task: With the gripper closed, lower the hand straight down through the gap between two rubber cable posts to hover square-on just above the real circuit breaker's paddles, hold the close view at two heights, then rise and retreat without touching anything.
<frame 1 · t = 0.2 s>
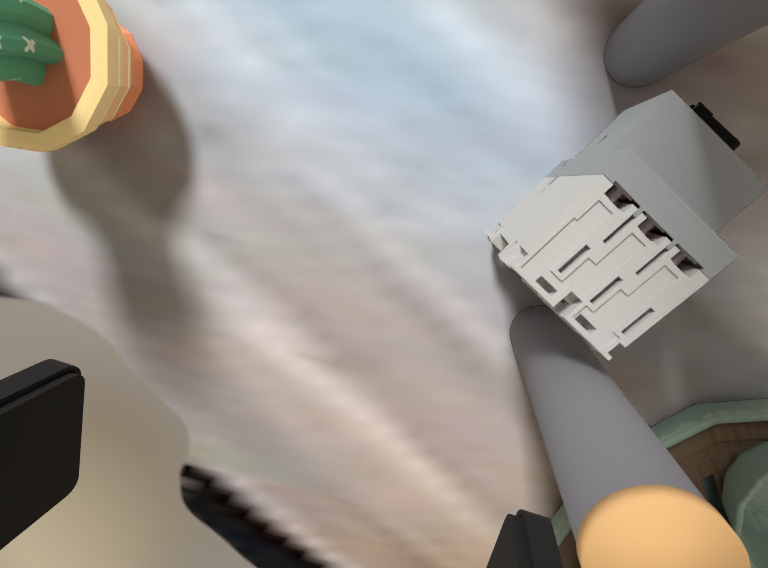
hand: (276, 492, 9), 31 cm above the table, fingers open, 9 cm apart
potted cactus: (100, 69, 41), on the table
post 1: (539, 332, 39), on the table
circuit breaker: (584, 203, 37), on the table
post 2: (639, 51, 34), on the table
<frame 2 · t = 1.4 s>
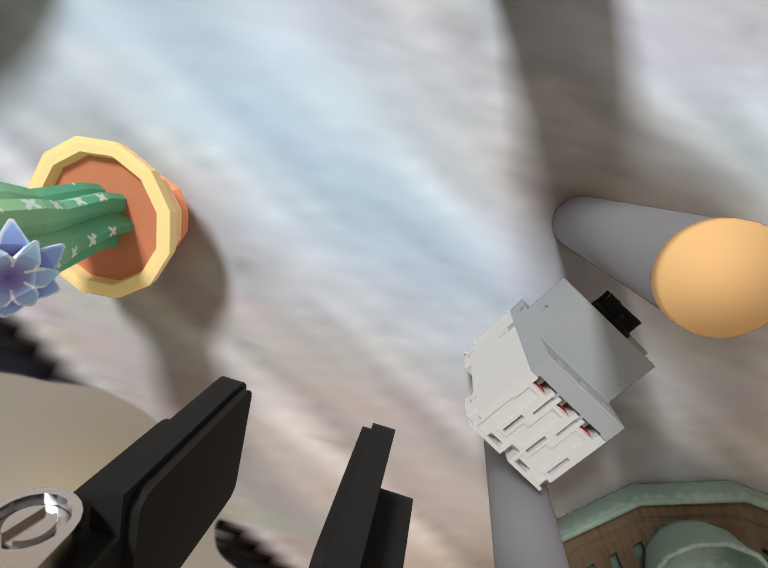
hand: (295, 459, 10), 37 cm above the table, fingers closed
potted cactus: (153, 213, 51), on the table
post 1: (506, 426, 49), on the table
circuit breaker: (539, 330, 47), on the table
post 2: (579, 222, 43), on the table
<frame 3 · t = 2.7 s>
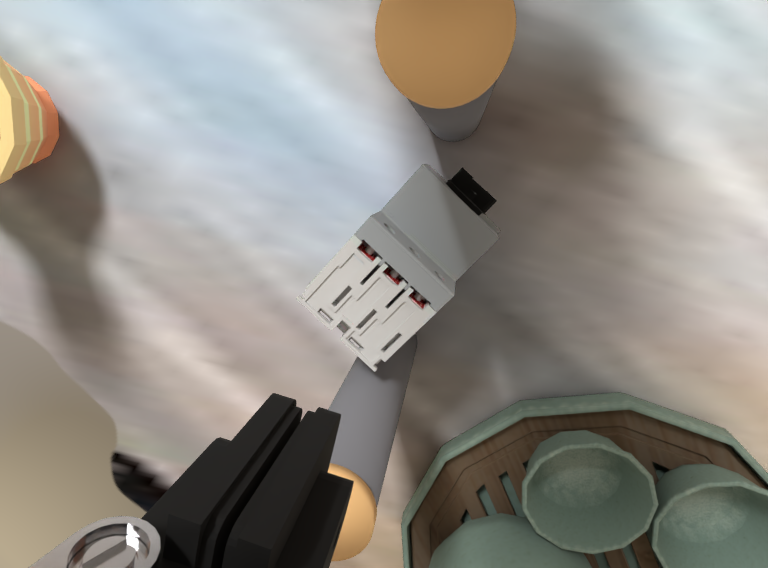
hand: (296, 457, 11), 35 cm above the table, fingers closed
tea set: (581, 547, 50), on the table
potted cactus: (23, 119, 48), on the table
post 1: (393, 341, 47), on the table
circuit breaker: (421, 234, 44), on the table
post 2: (453, 112, 41), on the table
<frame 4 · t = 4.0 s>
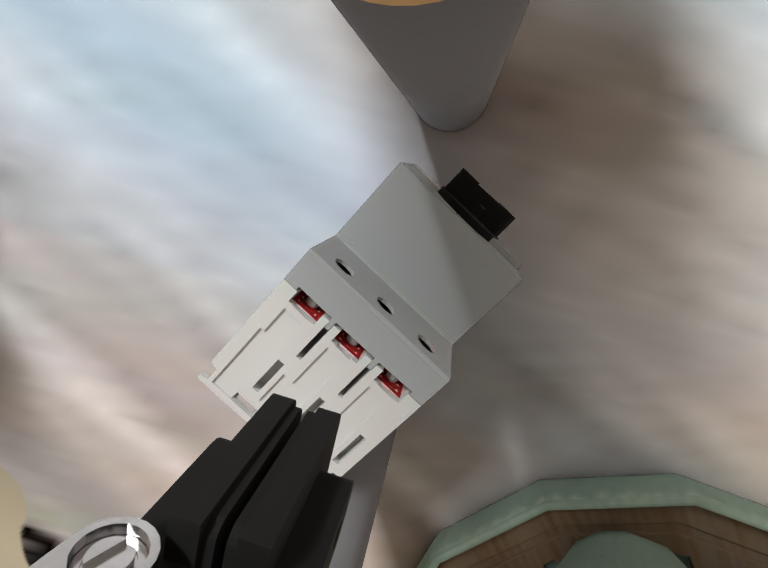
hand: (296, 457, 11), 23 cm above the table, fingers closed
post 1: (370, 399, 35), on the table
circuit breaker: (407, 259, 32), on the table
post 2: (450, 90, 29), on the table
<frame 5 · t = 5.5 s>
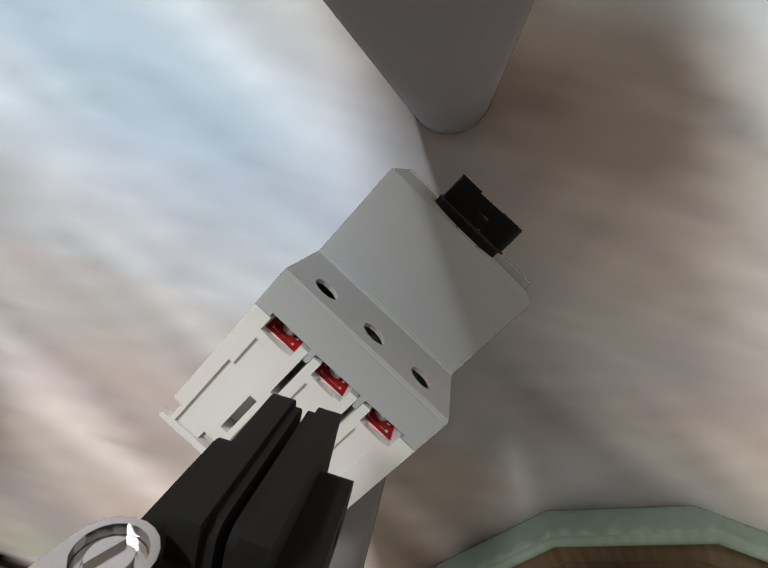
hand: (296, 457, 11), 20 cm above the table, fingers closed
post 1: (363, 422, 33), on the table
circuit breaker: (402, 272, 30), on the table
post 2: (450, 89, 27), on the table
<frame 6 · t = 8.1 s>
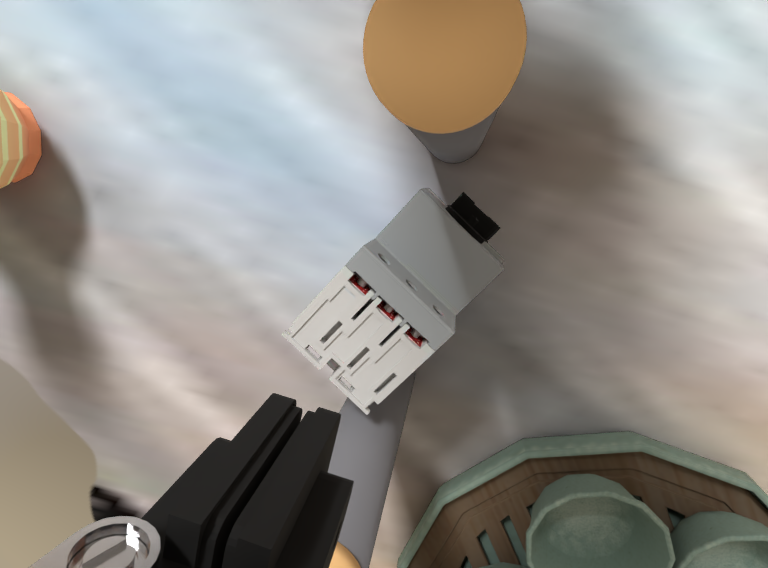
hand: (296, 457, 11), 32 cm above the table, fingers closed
potted cactus: (5, 137, 46), on the table
post 1: (389, 372, 44), on the table
circuit breaker: (419, 260, 42), on the table
post 2: (454, 132, 39), on the table
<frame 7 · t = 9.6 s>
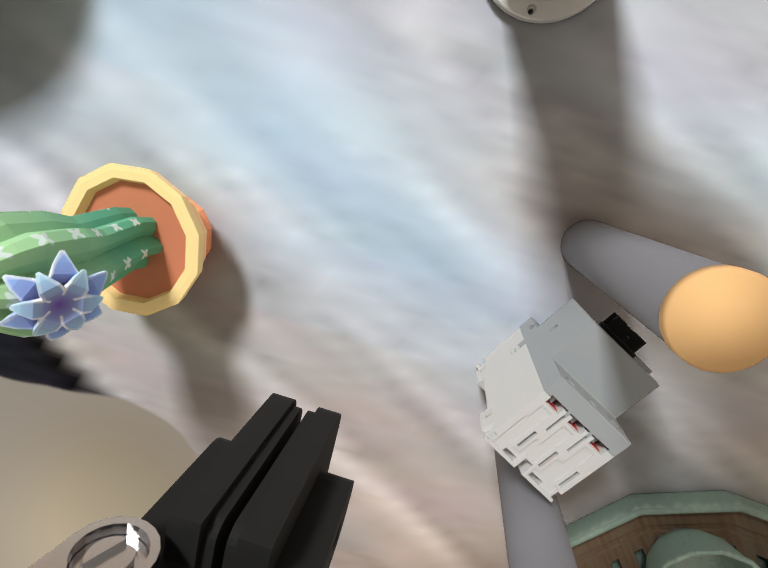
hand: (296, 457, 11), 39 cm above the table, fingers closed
potted cactus: (177, 232, 53), on the table
post 1: (515, 437, 52), on the table
circuit breaker: (548, 346, 49), on the table
post 2: (586, 244, 46), on the table
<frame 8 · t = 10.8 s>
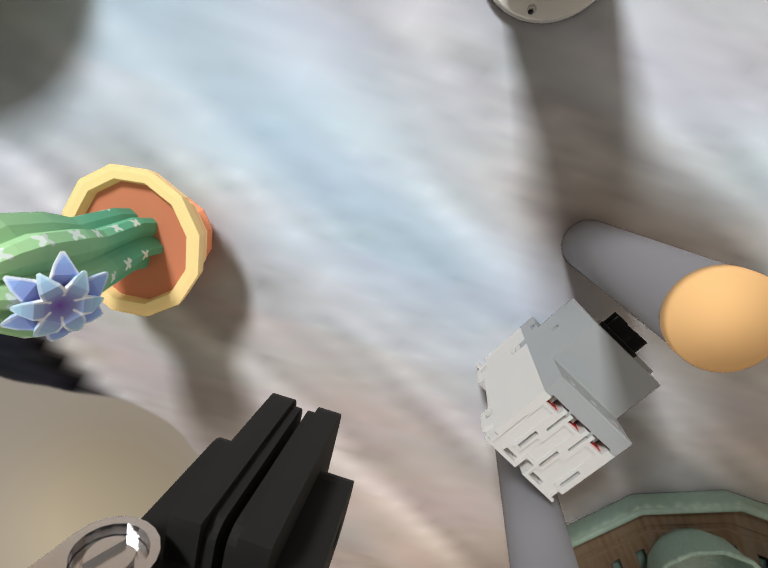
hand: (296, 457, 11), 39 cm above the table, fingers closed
potted cactus: (178, 233, 53), on the table
post 1: (516, 437, 52), on the table
circuit breaker: (549, 346, 49), on the table
post 2: (587, 244, 46), on the table
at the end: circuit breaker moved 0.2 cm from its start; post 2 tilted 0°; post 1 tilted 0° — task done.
